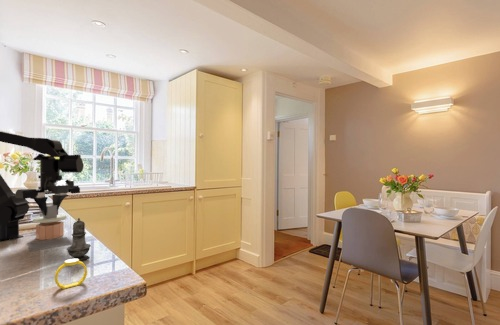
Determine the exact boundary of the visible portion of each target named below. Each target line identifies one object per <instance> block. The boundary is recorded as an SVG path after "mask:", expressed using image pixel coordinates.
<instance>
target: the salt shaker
mask: <svg viewBox="0 0 500 325" xmlns="http://www.w3.org/2000/svg"><path fill="white" fill-rule="evenodd" d="M85 228H86V224H85V222H84V221H83V220H81V218H80V217H78V218H77V220H76V221H74V222H73V223H72V233H71V236H72V241H71V242H72V244H71V245H69V246H68V247H66V251H67V253H68V255H69V256H70V258H69V259H74V258H76V259H79V261H81V262H83V263H84V262H85V261H88V260H89V259H90V255H87V254H88V253H89V251H90V249H91V248H90V247H91V246H92V244H90V243H87V242H86V234H87V232H86V230H85ZM87 259H88V260H87Z"/></svg>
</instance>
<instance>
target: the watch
mask: <svg viewBox="0 0 500 325" xmlns="http://www.w3.org/2000/svg"><path fill="white" fill-rule="evenodd" d="M74 265H80V266H82V267H83V268H84V273H83V275H82V277H81V278H80V279H79V281H77V282H73V283H69V284H65V285H64V284H62V283H60V282H59V280H58V276H59V273H60V272H61V270H62V269H64V268H66V267H67V266H74ZM87 276H88V267H87V266H86V265H85V263H84V261H83V262H81V261H79V259H76V258H74V259H70V258H69V259H65V260H64V262H63V264H61V265H59V266H58V268H57V270H56V271H55V273H54V283H55V284H56V286H57V287H58V288H60V289H62V290H66V289H69V288H73V287H77V286H80V285H81V284H83V282H85V280H86V279H87Z"/></svg>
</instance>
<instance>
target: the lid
mask: <svg viewBox="0 0 500 325" xmlns="http://www.w3.org/2000/svg"><path fill="white" fill-rule="evenodd" d="M46 208H47V213H46V216H44V215H43V216H42V217H40V216H39V217H38V216H37V217H34V218H33V219H32V223H35V224H40V223H48V222H56V221H64V220H66V219H67V218H68V217H67V216H68V215H66V214H65V215H64V214H58V215H57V205H46Z"/></svg>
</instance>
